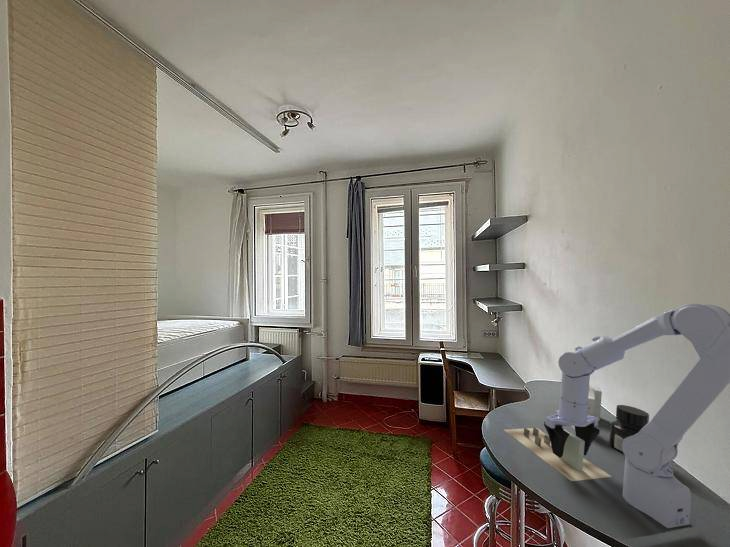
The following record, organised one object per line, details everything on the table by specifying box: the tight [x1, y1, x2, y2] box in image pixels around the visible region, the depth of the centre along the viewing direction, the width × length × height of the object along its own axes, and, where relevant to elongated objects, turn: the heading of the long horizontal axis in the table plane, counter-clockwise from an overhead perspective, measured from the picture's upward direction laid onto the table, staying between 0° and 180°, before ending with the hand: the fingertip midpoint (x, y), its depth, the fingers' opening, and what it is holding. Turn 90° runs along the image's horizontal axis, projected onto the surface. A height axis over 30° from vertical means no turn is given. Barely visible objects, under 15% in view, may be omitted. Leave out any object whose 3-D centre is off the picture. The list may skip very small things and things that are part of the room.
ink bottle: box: [608, 404, 650, 455], centre depth 83 cm, size 10×9×12 cm
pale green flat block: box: [559, 428, 585, 471], centre depth 74 cm, size 6×2×7 cm, turn 14°
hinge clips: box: [523, 427, 550, 446], centre depth 84 cm, size 6×4×2 cm
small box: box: [589, 384, 603, 422], centre depth 106 cm, size 8×6×10 cm
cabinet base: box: [504, 427, 613, 482], centre depth 79 cm, size 22×12×1 cm, turn 14°
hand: (569, 454), depth 74 cm, fingers open, 7 cm apart
